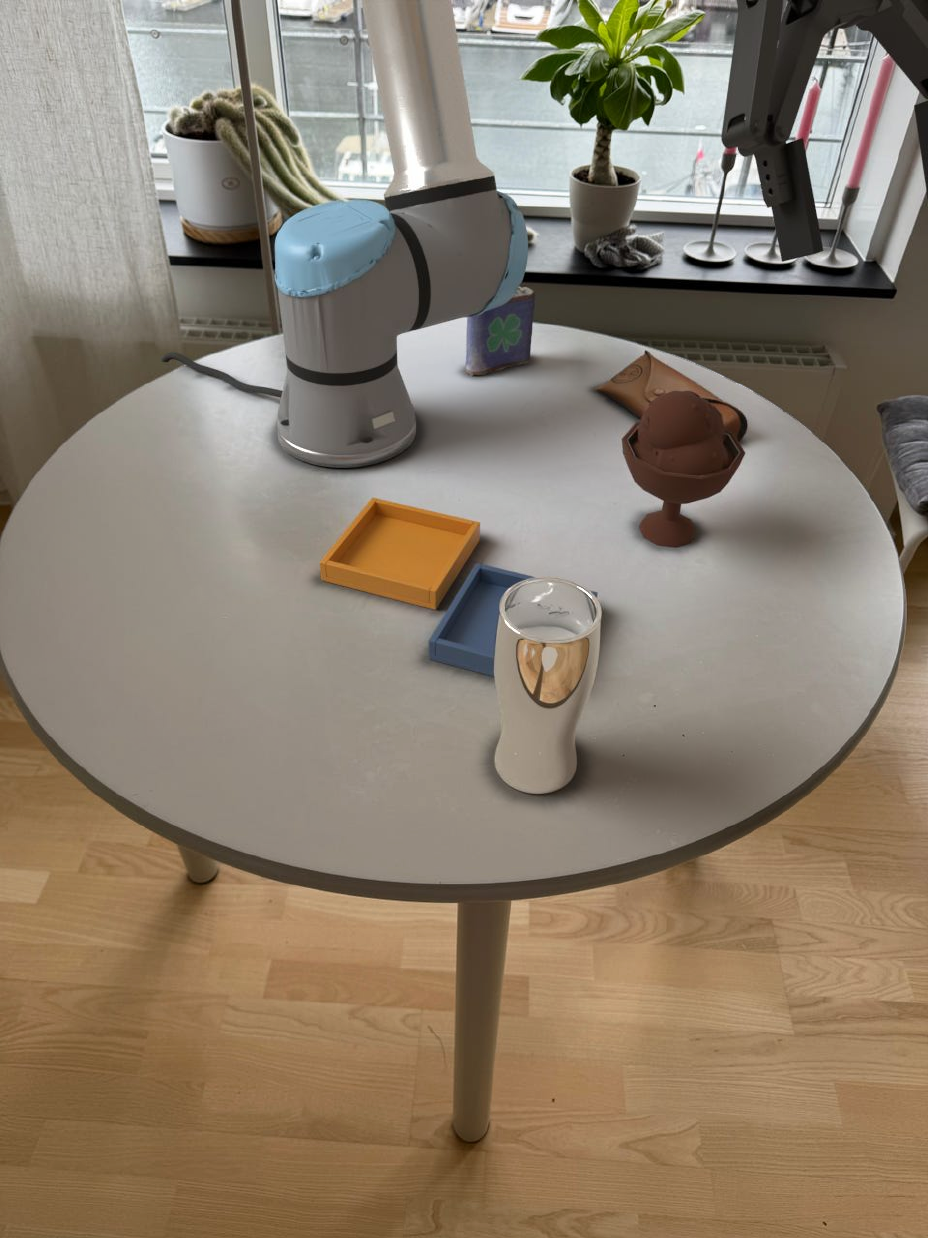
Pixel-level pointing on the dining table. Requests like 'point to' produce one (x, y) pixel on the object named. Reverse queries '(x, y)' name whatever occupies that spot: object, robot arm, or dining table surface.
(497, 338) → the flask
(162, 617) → the dining table surface
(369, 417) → the robot arm
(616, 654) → the dining table surface
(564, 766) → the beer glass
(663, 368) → the sunglasses case
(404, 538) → the amber tray
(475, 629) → the blue tray
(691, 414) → the ice cream bowl
